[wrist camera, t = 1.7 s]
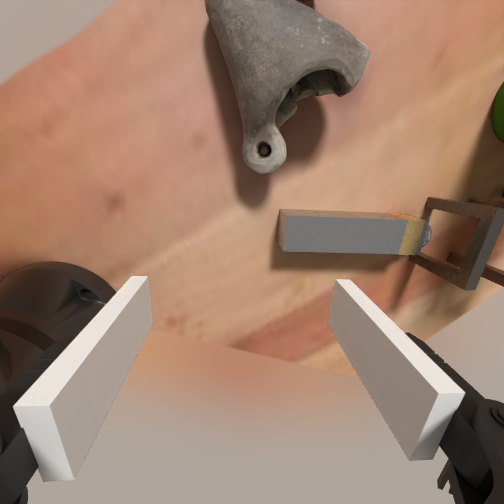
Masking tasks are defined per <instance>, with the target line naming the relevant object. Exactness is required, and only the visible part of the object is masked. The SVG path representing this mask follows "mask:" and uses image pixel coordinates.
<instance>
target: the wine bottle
mask: <svg viewBox="0 0 504 504" xmlns="http://www.w3.org/2000/svg"><path fill="white" fill-rule="evenodd" d="M492 123H493V128H494V131H495V132H496V134H497V136H498V137H499V138H500V139H501V140H503V141H504V83H503V84H502V85H501V87H500V89H499V91H498V94H497V96H496V98H495V102H494V105H493V109H492Z"/></svg>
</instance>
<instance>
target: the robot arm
mask: <svg viewBox="0 0 504 504" xmlns="http://www.w3.org/2000/svg"><path fill="white" fill-rule="evenodd" d="M327 324H328V325H329V327H330V329H331V331H332V332H333V334H334V336H335V337H336V339H337V341H338V342H339V344H340V346H341V347H342V349H343V351H344V352H345V354H346V356H347V357H348V359H349V361H350V362H351V364H352V366H353V367H354V369H355V371H356V372H357V374H358V376H359V377H360V379H361V381H362V382H363V384H364V386H365V387H366V389H367V391H368V393H369V394H370V396H371V398H372V399H373V401H374V403H375V404H376V406H377V408H378V409H379V411H380V413H381V414H382V416H383V417H384V419H385V421H386V423H387V424H388V426H389V428H390V429H391V431H392V433H393V434H394V436H395V438H396V439H397V441H398V443H399V444H400V446H401V448H402V450H403V451H404V453H405V454H406V456H407V458H408V459H409V461H413V460H430V459H433V458H434V456H435V453H436V452H437V449H438V447H439V446H440V447H441V449H442V450H443V451H444V453H445V454H446V455H447V457H448V458H449V459H448V461H447V463H446V465H445V467H444V468H443V470H442V472H441V474H440V476H439V478H438V480H437V481H438V488H439V489H441V490H443V488H444V486H445V484H446V482H447V481H448V480H449V483H450V489H449V493H450V494H452V495H453V497H454V500H455V504H504V403H501V402H499V401H495V400H490V399H485V398H484V397H483V396H482V395H480V394H479V393H478V392H477V391H476V390H475V389H474V388H473V387H472V386H471V385H470V384H469V383H468V382H466V381H465V380H464V379H463V378H462V377H461V376H460V375H459V374H458V373H457V372H456V371H455V370H454V369H452V368H451V367H450V366H449V365H448V364H447V363H444V360H443V359H442V358H441V357H439V356H438V355H437V354H435V353H434V351H433V350H432V349H431V348H430V347H429V346H428V345H426V344H425V343H424V342H423V341H422V340H420V339H418V338H417V337H415V336H414V335H412V334H410V333H404V332H403V331H402V330H401V329H400V328H399V327H398V326H397V325H396V324H395V323H394V322H393V321H391V320H390V319H389V318H388V317H387V316H386V315H385V314H384V313H383V312H382V311H381V310H380V309H379V308H378V307H377V306H376V305H375V304H374V303H373V302H372V301H371V300H370V299H369V298H368V297H367V296H366V295H365V294H364V293H363V292H362V291H361V290H360V289H359V288H358V287H357V286H356V285H355V284H354V283H353V282H352V281H351V280H344V279H336V280H335V286H334V291H333V296H332V301H331V306H330V311H329V316H328V322H327ZM152 325H153V318H152V309H151V299H150V290H149V280H148V276H132V277H131V278H130V279H129V280H128V281H127V282H126V283H125V284H124V285H123V286H122V287H121V289H120V290H119V291H118V292H117V293H116V292H115V290H114V289H113V288H112V287H111V286H110V285H109V284H108V283H107V282H106V281H105V280H103V279H102V278H101V277H99V276H98V275H96V274H94V273H93V272H91V271H89V270H87V269H84V268H82V267H79V266H76V265H73V264H69V263H63V262H40V263H35V264H31V265H28V266H26V267H23V268H21V269H19V270H17V271H15V272H13V273H11V274H9V275H7V276H6V277H4V278H3V279H1V280H0V504H27V502H28V489H27V487H26V485H27V484H28V482H29V480H30V479H31V477H32V476H33V474H34V473H35V471H36V470H37V468H38V470H39V473H40V475H41V477H42V480H43V482H46V481H62V480H74V479H75V477H76V475H77V473H78V471H79V469H80V467H81V465H82V463H83V461H84V459H85V457H86V455H87V453H88V451H89V449H90V447H91V445H92V443H93V441H94V439H95V437H96V435H97V433H98V432H99V429H100V428H101V426H102V424H103V422H104V420H105V418H106V415H107V414H108V412H109V410H110V408H111V406H112V404H113V402H114V400H115V398H116V396H117V394H118V392H119V390H120V388H121V386H122V384H123V382H124V380H125V378H126V376H127V374H128V372H129V370H130V368H131V366H132V364H133V362H134V360H135V358H136V356H137V354H138V352H139V350H140V348H141V346H142V344H143V342H144V340H145V338H146V337H147V334H148V333H149V331H150V329H151V327H152Z"/></svg>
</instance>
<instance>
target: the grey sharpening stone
mask: <svg viewBox="0 0 504 504" xmlns="http://www.w3.org/2000/svg"><path fill="white" fill-rule="evenodd" d="M431 235H432V230H431V227H430V225H429V221H428V220H424V219H421V218H417V217H414V216H410V215H407V214H402V213H369V212H344V211H319V210H294V209H280V214H279V225H278V236H277V241H278V243H279V245H280V247H281V248H282V250H283V251H285V252H326V253H366V254H398V255H419V253H420V250H421V247H423V246H425V245H426V244H427V243H428V242H429V240H430V239H431Z"/></svg>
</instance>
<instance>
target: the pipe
mask: <svg viewBox="0 0 504 504" xmlns="http://www.w3.org/2000/svg"><path fill="white" fill-rule="evenodd" d="M205 6H206V12H207V14H208V17H209V19H210V21H211V24H212V27H213V29H214V32H215V35H216V37H217V40H218V42H219V45H220V48H221V51H222V54H223V57H224V60H225V63H226V66H227V69H228V72H229V75H230V78H231V81H232V85H233V88H234V91H235V95H236V98H237V102H238V107H239V111H240V115H241V119H242V123H243V130H244V140H243V147H242V158H243V160H244V162H245V163H246V164H247V165H248V166H249V167H250V168H251V169H252V170H253V171H255V172H257V173H260V174H265V173H270V172H273V171H275V170H276V169H278V168H279V167H280V166H281V165H282V164H283V163H284V162H285V160H286V157H287V153H286V144H285V141H284V139H283V137H282V135H281V133H280V131H279V128H280V126H281V125H282V124H283V123H284V122H285V121H286V120H288V119H289V118H290V117H291V116H292V115H294V114H295V113H296V110H297V108H298V106H297V103H296V102H297V101H299V100H300V99H303V98H306V97H308V96H312V95H315V96H323V95H327V94H332V93H334V94H336V95H337V96H338V97H341V96H344V95H345V94H347V93H349V92H350V91H352V89H353V88H354V87H355V86H356V84H357V83H358V81H359V80H360V78H361V76H362V74H363V71H364V68H365V65H366V63H367V61H368V58H369V56H370V51H369V49H368V47H367V45H366V44H364V43H363V42H361V41H360V40H358V39H357V38H356V37H355V36H353V35H352V34H351V33H350V32H349V31H347V30H346V29H345V28H343V27H342V26H341V25H339V24H337V23H336V22H334V21H332V20H330V19H328V18H326V17H325V16H323V15H322V14H320V13H319V12H317V11H316V10H314V9H312V8H310V7H308V6H306V5H304V4H302V3H300V2H298V1H296V0H205ZM265 147H267V149H268V150H269V151H268V152H267V154H266V155H262V154H260V151H261V150H262V149H263V148H265Z"/></svg>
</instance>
